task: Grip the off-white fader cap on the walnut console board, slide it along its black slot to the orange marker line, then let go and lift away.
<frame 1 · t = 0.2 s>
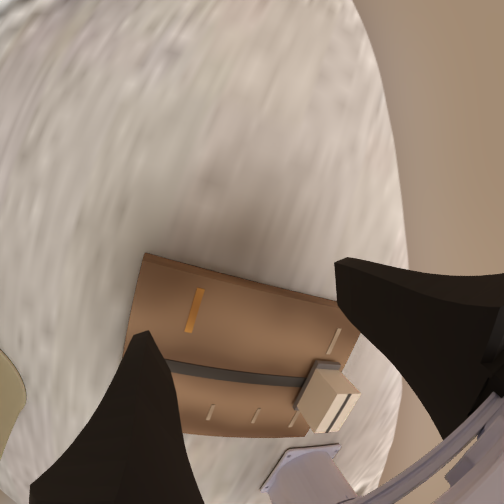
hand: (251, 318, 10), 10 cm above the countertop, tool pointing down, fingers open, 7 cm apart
console board: (236, 362, 23), on the countertop
fader: (326, 399, 21), point 4 cm above the countertop, slide at 0.0 cm
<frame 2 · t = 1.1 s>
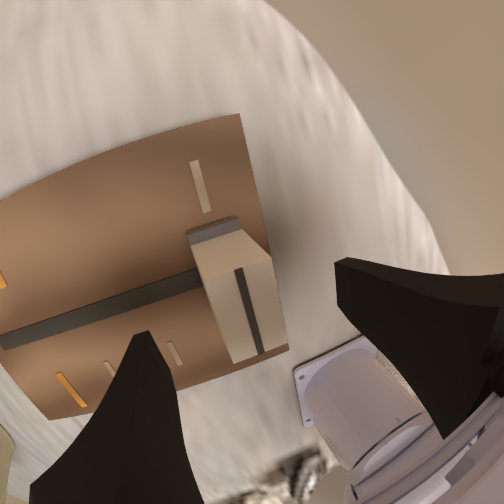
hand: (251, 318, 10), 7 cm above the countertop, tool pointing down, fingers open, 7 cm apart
console board: (107, 291, 15), on the countertop
fader: (236, 291, 12), point 4 cm above the countertop, slide at 0.0 cm
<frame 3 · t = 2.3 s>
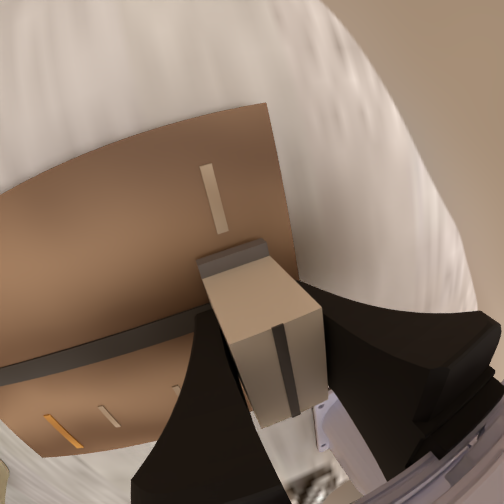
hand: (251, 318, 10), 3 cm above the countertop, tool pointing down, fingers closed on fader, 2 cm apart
console board: (97, 324, 12), on the countertop
fader: (263, 338, 9), point 4 cm above the countertop, slide at 0.0 cm, touching gripper
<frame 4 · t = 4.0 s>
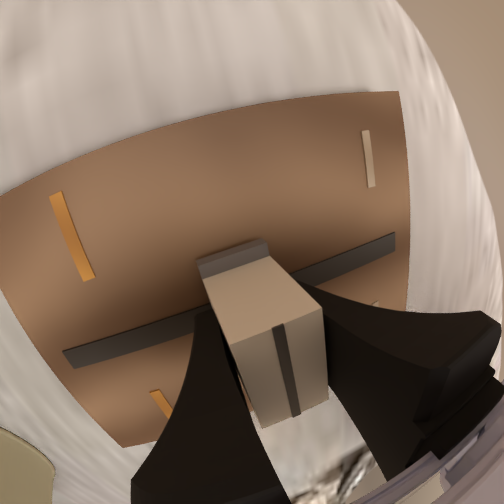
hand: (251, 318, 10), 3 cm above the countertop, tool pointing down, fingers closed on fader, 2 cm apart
console board: (228, 280, 13), on the countertop
fader: (264, 338, 9), point 4 cm above the countertop, slide at 6.5 cm, touching gripper
can: (6, 451, 13), on the countertop
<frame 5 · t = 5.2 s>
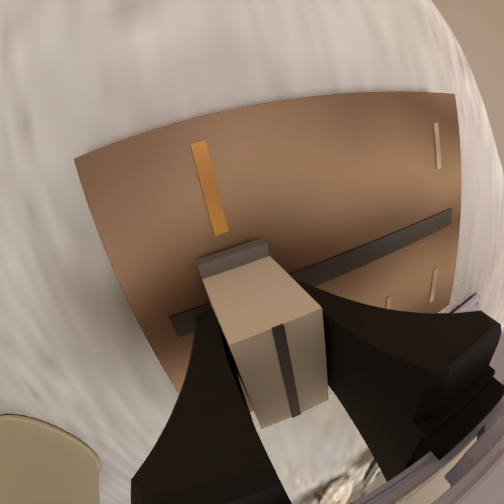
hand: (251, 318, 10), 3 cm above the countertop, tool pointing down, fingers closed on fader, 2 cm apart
console board: (324, 245, 14), on the countertop
fader: (263, 338, 9), point 4 cm above the countertop, slide at 11.4 cm, touching gripper
can: (44, 449, 14), on the countertop
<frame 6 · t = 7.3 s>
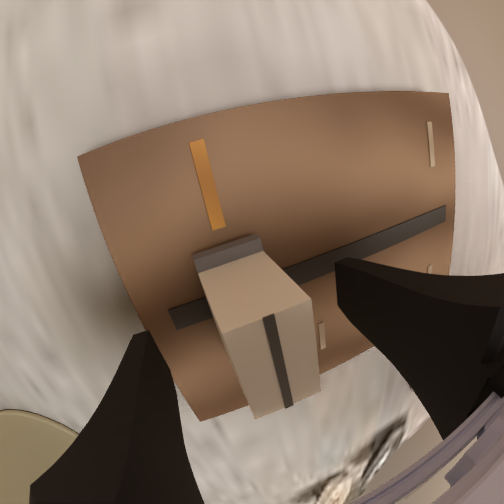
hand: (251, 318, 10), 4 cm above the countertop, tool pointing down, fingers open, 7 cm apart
console board: (320, 241, 15), on the countertop
fader: (257, 330, 10), point 4 cm above the countertop, slide at 11.5 cm
can: (44, 444, 14), on the countertop
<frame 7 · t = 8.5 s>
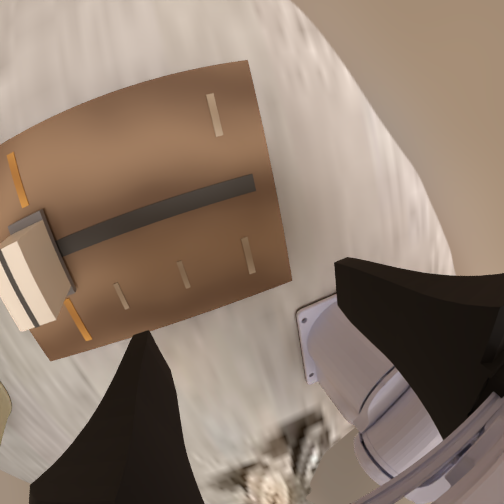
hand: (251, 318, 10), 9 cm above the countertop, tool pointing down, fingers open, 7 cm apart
console board: (122, 216, 17), on the countertop
fader: (30, 272, 12), point 4 cm above the countertop, slide at 11.5 cm
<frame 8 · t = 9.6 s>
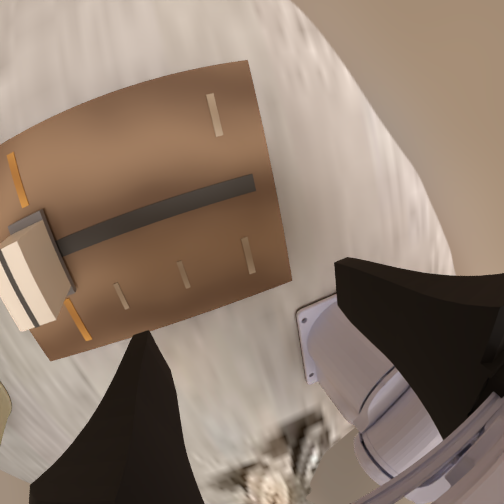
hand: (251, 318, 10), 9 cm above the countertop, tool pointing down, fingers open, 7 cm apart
console board: (122, 216, 17), on the countertop
fader: (30, 272, 12), point 4 cm above the countertop, slide at 11.5 cm
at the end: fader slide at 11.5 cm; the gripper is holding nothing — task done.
